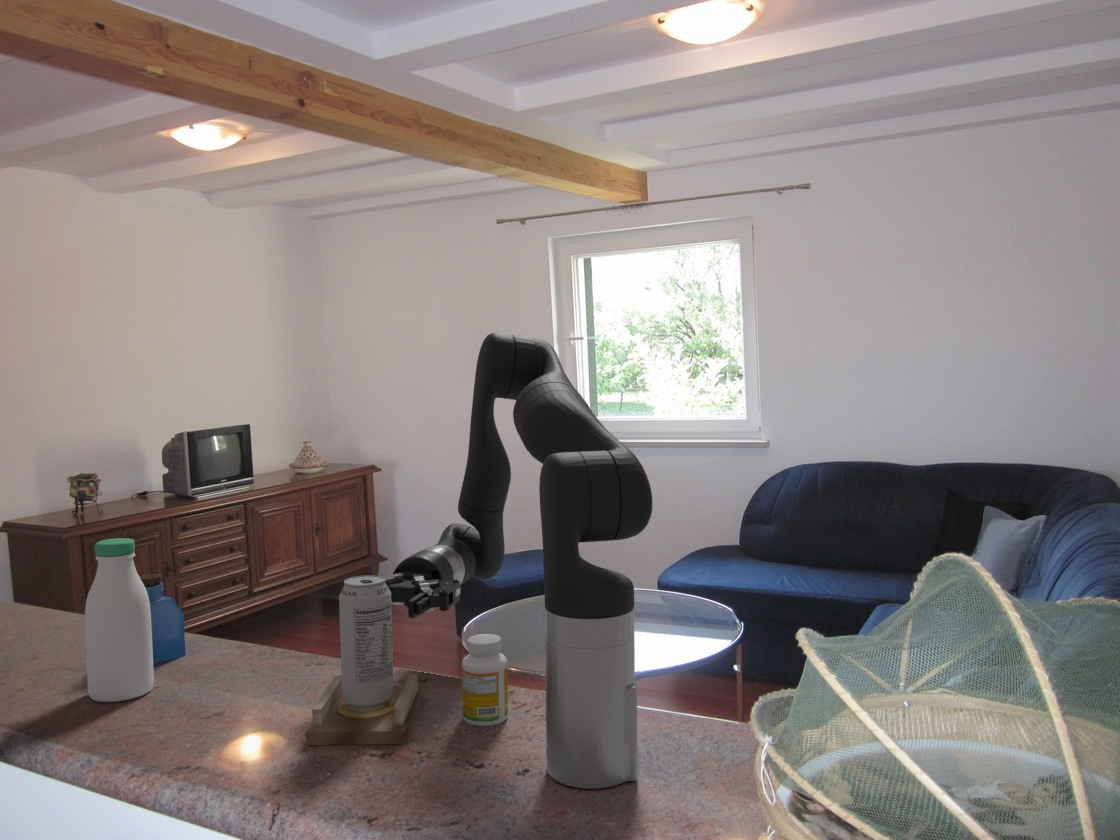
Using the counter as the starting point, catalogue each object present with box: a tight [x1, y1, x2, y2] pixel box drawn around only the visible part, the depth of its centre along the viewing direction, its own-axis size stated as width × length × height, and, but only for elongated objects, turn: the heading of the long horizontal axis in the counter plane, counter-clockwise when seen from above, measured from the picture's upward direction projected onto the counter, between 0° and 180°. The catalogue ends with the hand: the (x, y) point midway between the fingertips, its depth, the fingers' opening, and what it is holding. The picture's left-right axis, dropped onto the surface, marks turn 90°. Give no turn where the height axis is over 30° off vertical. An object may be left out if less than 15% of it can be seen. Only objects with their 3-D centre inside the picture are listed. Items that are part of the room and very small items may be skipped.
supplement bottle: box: [461, 633, 509, 727], centre depth 109 cm, size 5×5×10 cm
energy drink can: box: [338, 574, 394, 712], centre depth 109 cm, size 6×6×15 cm
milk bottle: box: [84, 537, 155, 703], centre depth 118 cm, size 8×8×20 cm
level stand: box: [305, 673, 424, 746], centre depth 109 cm, size 11×14×4 cm
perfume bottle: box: [139, 573, 186, 666], centre depth 132 cm, size 6×6×12 cm
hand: (378, 608), depth 112 cm, fingers open, 8 cm apart
